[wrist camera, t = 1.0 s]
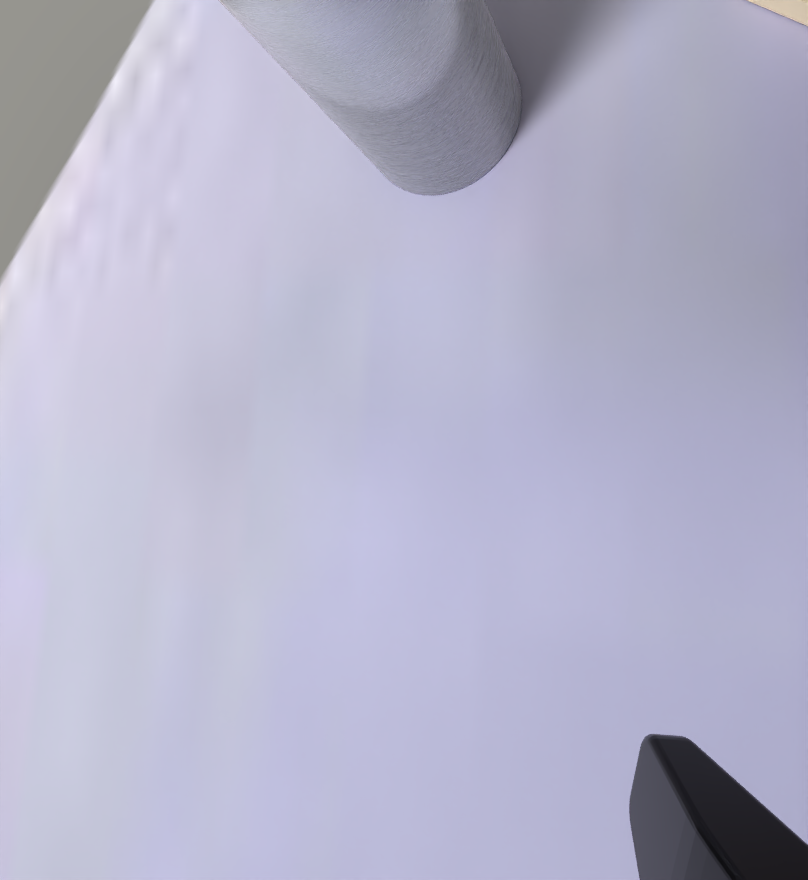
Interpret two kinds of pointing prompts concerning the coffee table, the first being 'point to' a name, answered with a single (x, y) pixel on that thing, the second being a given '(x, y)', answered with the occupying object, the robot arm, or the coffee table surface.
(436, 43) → the metal canister
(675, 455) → the coffee table surface
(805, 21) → the jig
